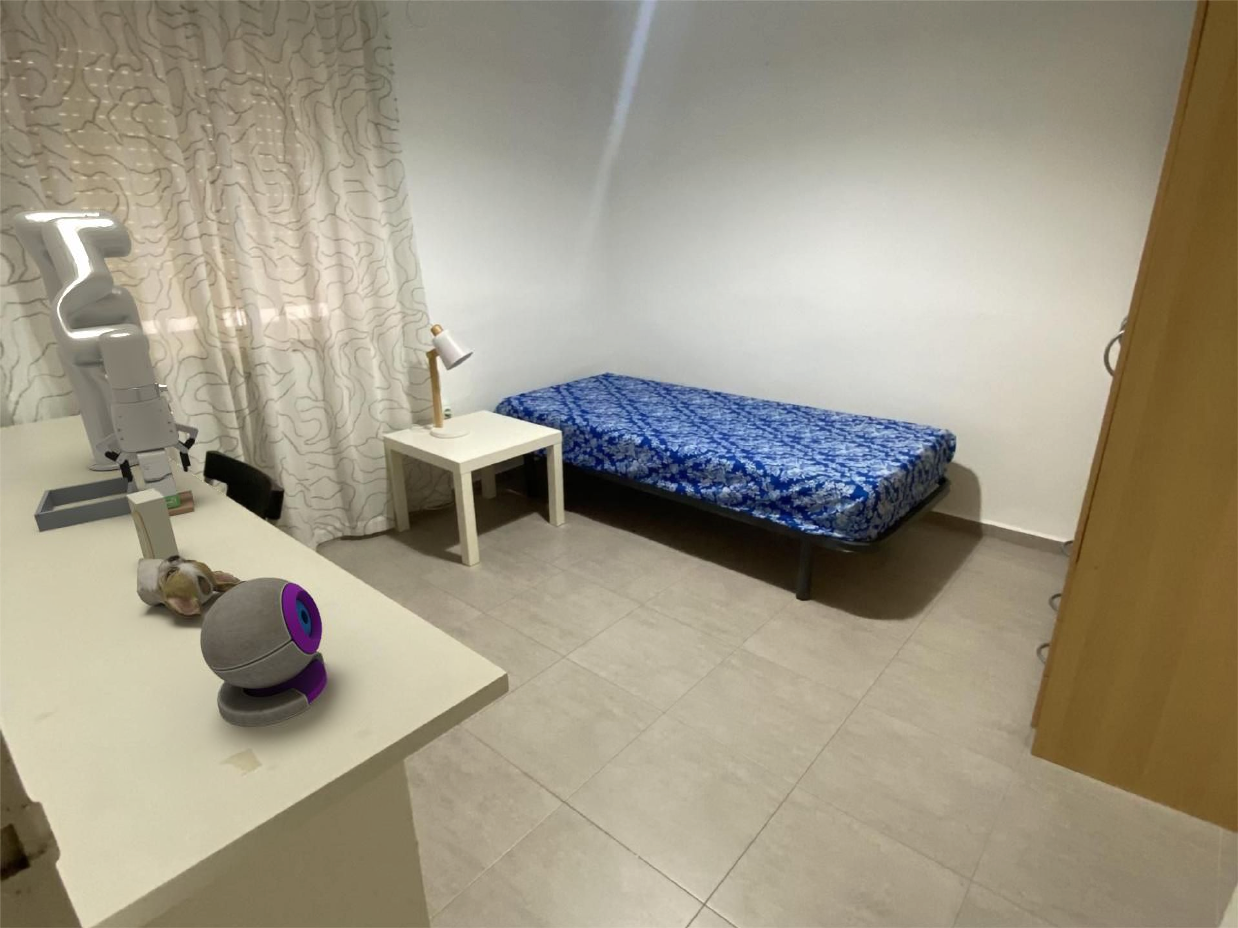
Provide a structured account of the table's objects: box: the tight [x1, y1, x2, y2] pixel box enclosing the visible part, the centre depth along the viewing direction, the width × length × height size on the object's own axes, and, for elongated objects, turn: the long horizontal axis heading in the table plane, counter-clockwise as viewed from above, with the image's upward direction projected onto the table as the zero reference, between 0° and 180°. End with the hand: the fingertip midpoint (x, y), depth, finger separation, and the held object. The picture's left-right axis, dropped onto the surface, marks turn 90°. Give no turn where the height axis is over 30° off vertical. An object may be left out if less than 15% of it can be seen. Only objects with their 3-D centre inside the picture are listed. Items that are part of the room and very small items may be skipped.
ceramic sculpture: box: [136, 554, 247, 619], centre depth 104 cm, size 11×9×15 cm
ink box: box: [136, 448, 181, 509], centre depth 139 cm, size 9×5×12 cm, turn 37°
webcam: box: [200, 577, 328, 727], centre depth 82 cm, size 13×13×15 cm
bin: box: [33, 474, 139, 532], centre depth 142 cm, size 16×16×4 cm
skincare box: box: [125, 488, 180, 560], centre depth 118 cm, size 6×4×12 cm
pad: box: [168, 489, 195, 517], centre depth 142 cm, size 11×9×1 cm
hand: (158, 475), depth 140 cm, fingers open, 9 cm apart
